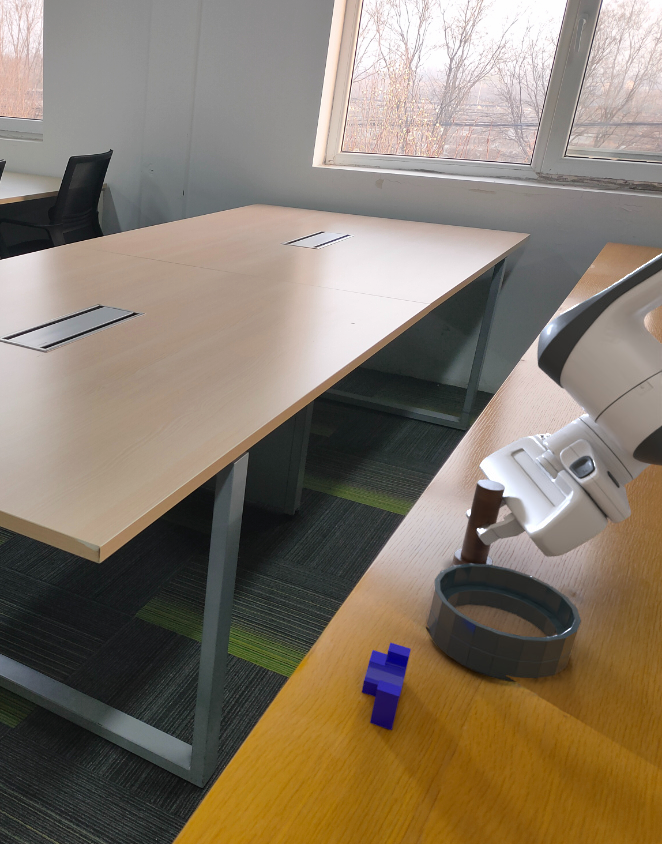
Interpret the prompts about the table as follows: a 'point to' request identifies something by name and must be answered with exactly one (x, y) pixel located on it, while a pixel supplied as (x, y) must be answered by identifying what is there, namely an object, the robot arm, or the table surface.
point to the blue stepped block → (386, 683)
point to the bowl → (493, 647)
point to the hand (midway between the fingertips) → (474, 529)
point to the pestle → (480, 523)
